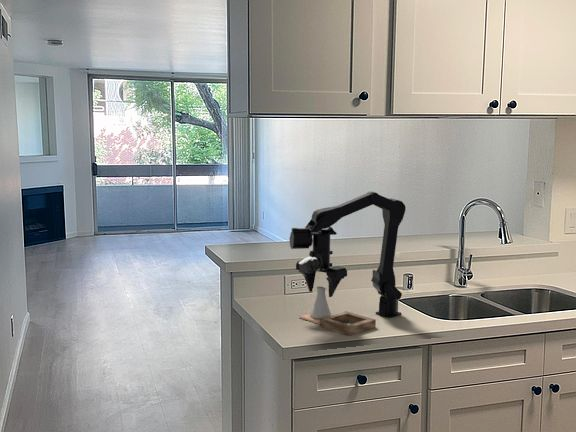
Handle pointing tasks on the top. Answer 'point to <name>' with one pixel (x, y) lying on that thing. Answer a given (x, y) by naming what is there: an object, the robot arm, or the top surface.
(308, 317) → the terracotta coaster
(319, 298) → the flask
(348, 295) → the top surface
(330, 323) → the walnut holder
